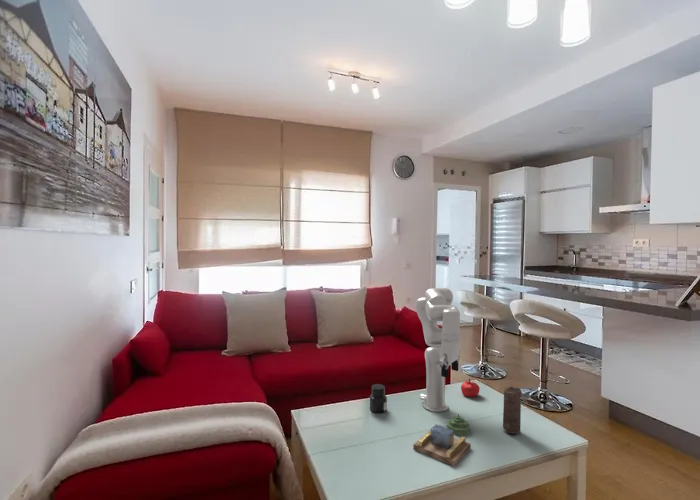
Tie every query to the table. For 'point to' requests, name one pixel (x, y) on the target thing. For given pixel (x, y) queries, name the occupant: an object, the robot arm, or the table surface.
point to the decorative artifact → (458, 426)
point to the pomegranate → (470, 389)
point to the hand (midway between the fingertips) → (449, 373)
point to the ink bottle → (378, 399)
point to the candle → (512, 409)
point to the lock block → (442, 436)
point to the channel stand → (443, 449)
